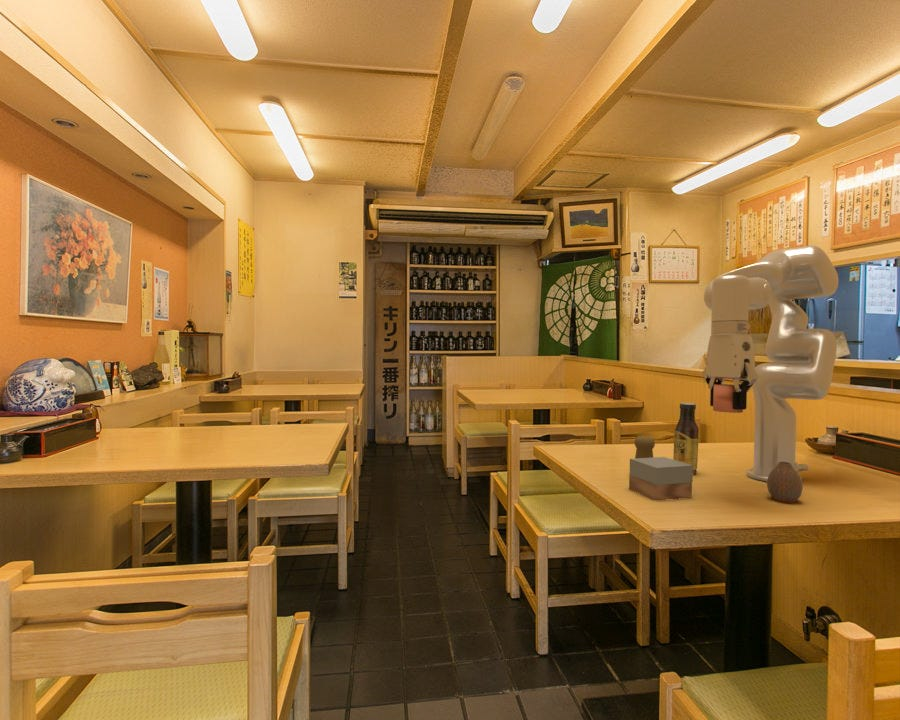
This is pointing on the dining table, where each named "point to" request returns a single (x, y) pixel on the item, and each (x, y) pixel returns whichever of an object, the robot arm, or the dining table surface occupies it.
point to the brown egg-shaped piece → (784, 483)
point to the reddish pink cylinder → (724, 398)
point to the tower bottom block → (660, 489)
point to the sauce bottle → (686, 436)
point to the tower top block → (661, 470)
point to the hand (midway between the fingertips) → (727, 406)
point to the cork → (644, 447)
